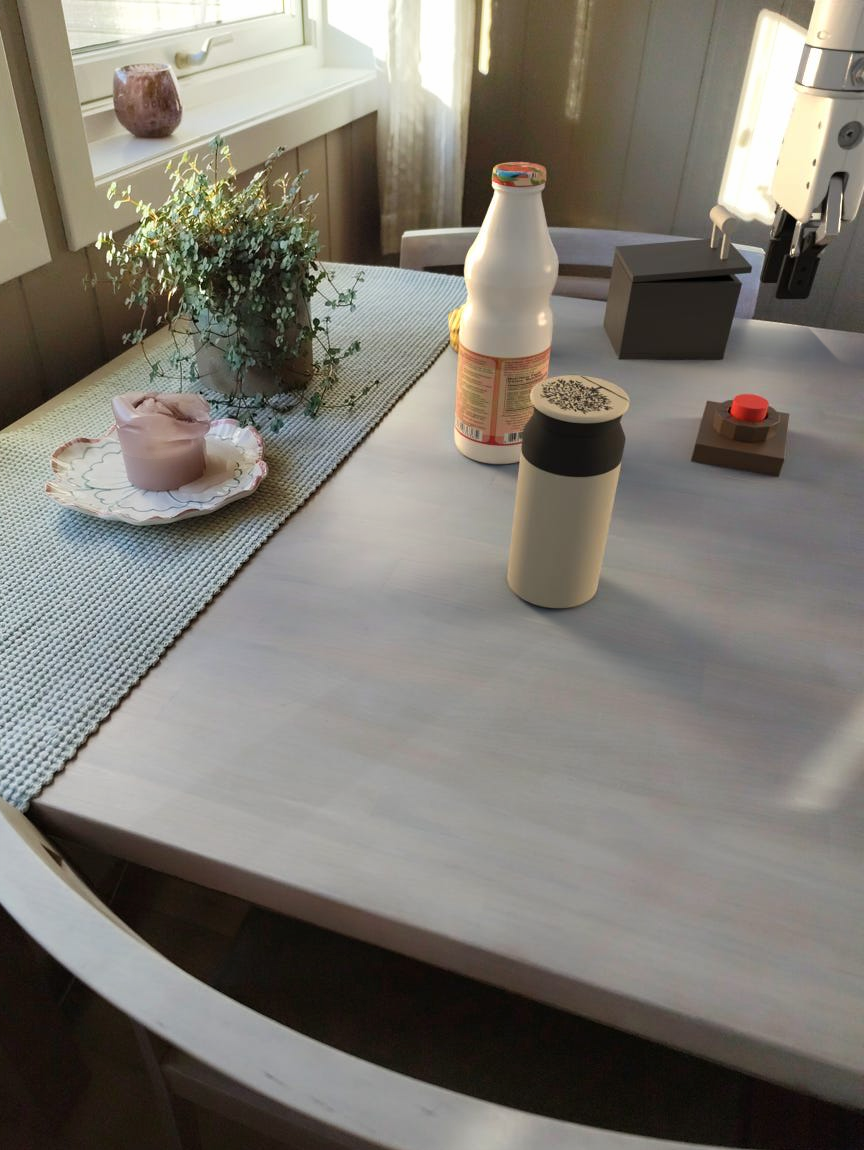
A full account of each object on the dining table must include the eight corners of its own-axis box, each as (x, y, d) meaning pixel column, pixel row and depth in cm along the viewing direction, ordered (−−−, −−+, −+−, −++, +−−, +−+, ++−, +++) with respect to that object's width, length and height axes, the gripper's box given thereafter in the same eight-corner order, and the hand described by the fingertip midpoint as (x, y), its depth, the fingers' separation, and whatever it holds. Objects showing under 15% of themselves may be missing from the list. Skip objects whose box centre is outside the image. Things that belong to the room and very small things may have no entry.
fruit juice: (443, 458, 97) (455, 176, 79) (465, 420, 104) (482, 152, 86) (529, 472, 95) (562, 184, 77) (546, 432, 102) (580, 159, 83)
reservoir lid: (725, 243, 118) (732, 196, 115) (751, 273, 110) (760, 223, 106) (614, 252, 119) (618, 205, 115) (632, 282, 110) (636, 233, 107)
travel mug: (538, 621, 76) (565, 428, 64) (490, 571, 82) (507, 384, 70) (615, 596, 79) (655, 406, 67) (563, 549, 84) (592, 366, 72)
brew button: (731, 406, 99) (735, 391, 97) (765, 411, 98) (770, 396, 96) (728, 420, 96) (732, 405, 95) (763, 426, 95) (767, 411, 94)
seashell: (503, 380, 122) (524, 323, 121) (502, 365, 115) (524, 305, 114) (436, 357, 123) (457, 301, 122) (431, 342, 116) (453, 282, 115)
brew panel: (702, 417, 104) (710, 385, 102) (784, 431, 102) (794, 398, 99) (690, 461, 97) (699, 428, 94) (778, 477, 94) (789, 443, 91)
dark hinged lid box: (700, 325, 125) (716, 253, 119) (723, 359, 117) (742, 283, 110) (603, 325, 126) (614, 252, 119) (618, 359, 117) (631, 283, 110)
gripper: (933, 89, 70) (854, 322, 82) (851, 56, 82) (792, 262, 94) (837, 89, 70) (771, 322, 82) (769, 56, 82) (721, 262, 94)
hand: (783, 288), depth 88 cm, fingers open, 3 cm apart
